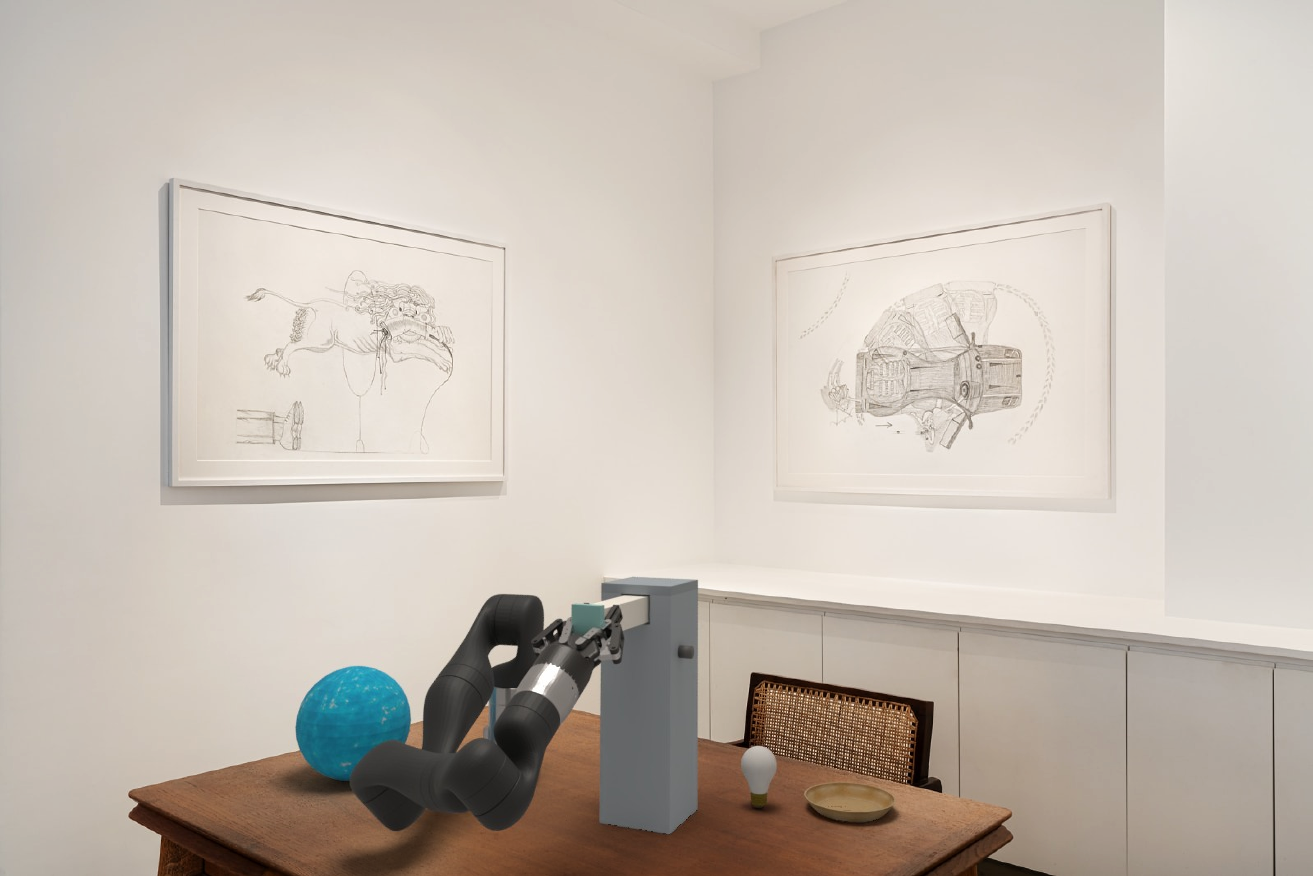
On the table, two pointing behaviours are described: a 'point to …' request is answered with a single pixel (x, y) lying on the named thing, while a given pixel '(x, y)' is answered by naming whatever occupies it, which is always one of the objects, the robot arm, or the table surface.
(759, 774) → the light bulb
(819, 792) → the plant saucer
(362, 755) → the decorative sphere
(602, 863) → the table surface
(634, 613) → the block
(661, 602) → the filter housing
